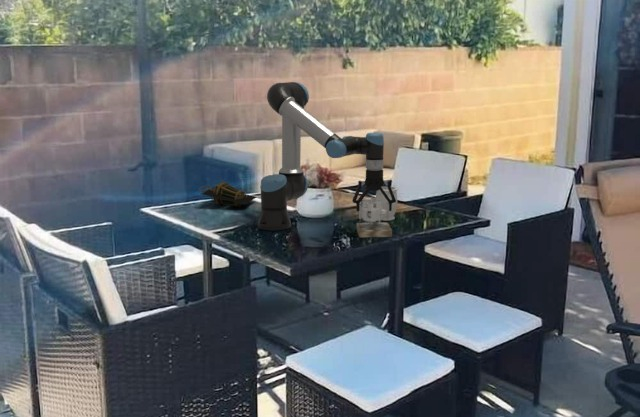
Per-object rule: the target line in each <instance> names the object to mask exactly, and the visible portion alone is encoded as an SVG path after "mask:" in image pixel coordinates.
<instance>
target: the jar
mask: <svg viewBox="0 0 640 417" xmlns="http://www.w3.org/2000/svg"><path fill="white" fill-rule="evenodd" d="M382 189H383V190H384V192H385V193H386V195H387V196H388V197H389V199H390V200H392V198H391V195H390V192H389V190H388V187H387V186H382ZM391 189H392V192H393V194H394V197H395V199H396V202H394V203H392V210H391V211H389V219H387V218H386V216H387V215H385V216H383V219H382V220H381V221H383V222H387V221H388V222H389V221H394V220H395V215H396V212H397V207H398V206H397V205H398V194H397V191H398V188H397V187H395V186H391ZM377 197H378V200H379V201H381V202H382V205H383V208H382V209H383V210H386V211H387V203H389V202H388V201H387V199H386V198H385V197H384V195H383V194H382V192H381V191H380V190H378V191H376V193H375V198H377Z"/></svg>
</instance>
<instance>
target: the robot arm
mask: <svg viewBox="0 0 640 417" xmlns="http://www.w3.org/2000/svg"><path fill="white" fill-rule="evenodd" d="M266 94H267V95H266V99H267V103H268V105H269V106H270V107H271V109H272V110H273V111H275V113H277V114H278V115H279V116H281V136H282V137H281V168H280V169H279V170H278V174H277V173H275V174H274V173H273V174H269V175H265V176H264V177H263V178H261V179H260V188H259V189H260V204H261V205H260V206H261V207H260V209H261V210H260V214H259V217H258V219H257V220H258V221H257V228H258V229H259V230H263V231H271V232H272V231H284V230H287V229H290V228H291V227H292V221H291V217H290V215H289V213H288V208H287V207H288V203H287V202H289V201H293V200H297V199H299V198H301V197H303V196H304V195H305V194H306V193H307V192H308V188H309V180H308V178H306V175H305V174H304V169H302V168H301V146H302V145H301V140H302V138H301V136H302V135H301V131H303V132H305V134H307V135H308V136H310V137H311V138H312V139H313V140H315V142H317V143H318V144H320V145H321V147H323V148H325V152H326V154H327V156H328V157H329V158H331V159H341V158H343V157H348V156H352V155H353V156H354V155H364V156H365V168H366V169H365V179H364V180H358V182H357V188H356V189H355V192H354V194H353V197H352V200H351V201H352V203H353V204H355V205H356V212H358V219H359V220H362V217H361V201H362V199H364V198H365V196H366V195H367V194H368V192H370V191H373V192H374V191H375V192H377V191H378V190H380V191H381V192H382V194H383V195H384V197H385V198H386V199H387V201H388V202H389V203H387V216H386V218H387V219H389V211H391V210H392V203H394V202H396V199H395V197H394V194H393V192H392V189H391V187H392V186H391V181H390V180H384V170H383V169H384V148H385V147H384V146H385V141H384V134H383V133H382V132H368V133H366V136H365V137H363V136H352V135H348V136H347V135H345V136H343V137H341V136H339V135H337V133H335V132H334V131H333V130H331V129H330V128H329V127H328V126H326V124H324V123H323V122H321V121H320V120H319V119H318V118H316V117H315V115H312V114H311V113H310V112H309V111H307V110H306V109H305V107H306V106H307V104H308V103H309V99H310V96H309V95H310V94H309V91H308V88H306V86H305V85H304V84H303V83H301V82H297V81H289V82H288V81H287V82H277V83H274V84H273V85H271V86H270V87H269V89H268V91H267V93H266ZM364 185H365V186H366V187H365V189H364V190H363V192H362V193H361V190H362V187H363V186H364ZM384 185H385V187H388V190H389V192H390V195H391V198H392V200H390V199H389V197H388V196H387V195H386V193H385V192H384V190H383V189H382V187H384ZM360 193H361V195H360V196H359V194H360ZM358 196H359V197H358Z"/></svg>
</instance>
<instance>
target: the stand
mask: <svg viewBox="0 0 640 417" xmlns="http://www.w3.org/2000/svg"><path fill="white" fill-rule="evenodd" d="M356 232H357V235H358V238H392V237H393V229H392V228H391V226H390V223H389V222H387V221H384V222H380V224H378V222H373V223H372V224H371V222H369V223H367V222H356Z"/></svg>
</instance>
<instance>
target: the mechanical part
mask: <svg viewBox="0 0 640 417" xmlns="http://www.w3.org/2000/svg"><path fill="white" fill-rule="evenodd" d="M360 203H361V219H362V220H363V221H364V222H366V223H371V224H372V223H378V224H380V223H381V221H383V220H382V219H383V216H385V215H387V211H386V210H383V209H382V208H383V205H382V202H381V201H379V200H378V197H377V198H376V197H373V196H371V197H370V199H367V198H366V199H364V198H363V199H362V201H361V202H360Z"/></svg>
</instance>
